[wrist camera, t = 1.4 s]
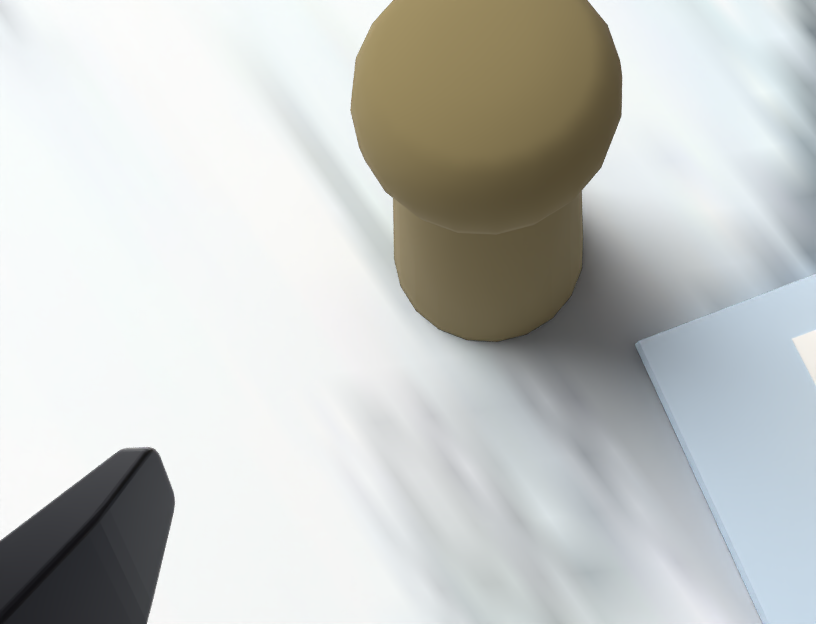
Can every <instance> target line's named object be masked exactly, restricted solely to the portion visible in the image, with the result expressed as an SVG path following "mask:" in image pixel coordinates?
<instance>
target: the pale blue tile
mask: <svg viewBox="0 0 816 624" xmlns="http://www.w3.org/2000/svg"><path fill="white" fill-rule="evenodd" d="M635 346H636V349H637V351H638V353H639V355H640V357H641V359H642V362H643V364H644V366H645V368H646V370H647V373H648V375H649V377H650V379H651V381H652V383H653V386H654V388H655V390H656V392H657V394H658V396H659V399H660V401H661V403H662V405H663V407H664V410H665V412H666V414H667V416H668V418H669V420H670V423H671V425H672V427H673V429H674V431H675V433H676V436H677V438H678V440H679V442H680V444H681V447H682V449H683V451H684V453H685V455H686V457H687V460H688V462H689V464H690V466H691V468H692V470H693V473H694V475H695V477H696V479H697V481H698V484H699V486H700V488H701V490H702V492H703V494H704V497H705V499H706V501H707V503H708V505H709V508H710V510H711V512H712V514H713V516H714V518H715V521H716V523H717V525H718V527H719V529H720V531H721V534H722V536H723V538H724V540H725V542H726V545H727V547H728V549H729V551H730V553H731V555H732V558H733V560H734V562H735V564H736V566H737V568H738V571H739V573H740V575H741V577H742V579H743V582H744V584H745V586H746V588H747V590H748V592H749V595H750V597H751V599H752V601H753V603H754V606H755V608H756V610H757V612H758V614H759V616H760V619H761V621H762V623H763V624H816V274H814V275H811V276H808V277H806V278H803V279H801V280H798V281H795V282H793V283H790V284H787V285H785V286H782V287H779V288H777V289H774V290H771V291H769V292H766V293H764V294H761V295H758V296H756V297H753V298H750V299H748V300H745V301H742V302H740V303H737V304H735V305H732V306H729V307H727V308H724V309H721V310H719V311H716V312H713V313H711V314H708V315H705V316H703V317H700V318H698V319H695V320H692V321H690V322H687V323H684V324H682V325H679V326H676V327H674V328H671V329H669V330H666V331H663V332H661V333H658V334H655V335H653V336H650V337H647V338H645V339H642V340H640V341H638V342H637V343H636V344H635Z"/></svg>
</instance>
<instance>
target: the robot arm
mask: <svg viewBox="0 0 816 624" xmlns="http://www.w3.org/2000/svg"><path fill="white" fill-rule="evenodd" d="M174 506H175V498H174V493H173V489H172V487H171V484H170V481H169V479H168V476H167V473H166V471H165V468H164V466H163V463H162V460H161V458H160V455H159V453H158V452H157V451H156V450H155V449H154V448H150V447H139V448H125V449H122V450H120V451H118V452H117V453H115V454H114V455H113V456H111V457H110V458H109V459H107V460H106V461H105V462H103V463H102V464H101V465H99V466H98V467H97V468H95V469H94V470H93V471H91V472H90V473H89V474H88V475H86V476H85V477H84V478H82V479H81V480H80V481H78V482H77V483H76V484H74V485H73V486H72V487H70V488H69V489H68V490H66V491H65V492H64V493H62V494H61V495H60V496H59V497H57V498H56V499H55V500H53V501H52V502H51V503H49V504H48V505H47V506H45V507H44V508H43V509H41V510H40V511H39V512H37V513H36V514H35V515H33V516H32V517H31V518H29V519H28V520H27V521H26V522H24V523H23V524H22V525H20V526H19V527H18V528H16V529H15V530H14V531H12V532H11V533H10V534H8V535H7V536H6V537H4V538H3V539H2V540H0V624H147V621H148V617H149V613H150V610H151V606H152V602H153V598H154V593H155V589H156V585H157V581H158V577H159V572H160V568H161V564H162V560H163V555H164V551H165V547H166V543H167V538H168V534H169V530H170V526H171V521H172V517H173V513H174Z"/></svg>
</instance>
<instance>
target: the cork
mask: <svg viewBox="0 0 816 624" xmlns="http://www.w3.org/2000/svg"><path fill="white" fill-rule="evenodd" d="M621 110H622V71H621V64H620V59H619V56H618V54H617V51H616V48H615V45H614V42H613V39H612V36H611V34H610V31H609V28H608V25H607V24H606V23H605V21H604V20H603V19H602V18H601V16H600V15H599V14H598V13H597V12H596V10H595V9H594V8H593V7H592V5H591V4H590V3H589V2H588V0H393V1H392V2H391V3H390V5H389V6H388V7H387V8H386V9H385V10H384V11H383V12H382V13H381V14H380V15H379V17H378V18H377V19H376V20H375V21H374V22H373V24H372V25H371V27H370V29H369V32H368V34H367V36H366V38H365V40H364V42H363V44H362V46H361V49H360V51H359V53H358V55H357V57H356V62H355V71H354V80H353V89H352V98H351V115H352V119H353V123H354V127H355V132H356V136H357V140H358V144H359V148H360V150H361V153H362V155H363V157H364V159H365V161H366V163H367V164H368V166H369V167H370V169H371V170H372V172H373V174H374V175H375V177H376V178H377V180H378V181H379V183H380V184H381V186H382V187H383V189H384V190H385V192H386V193H388V194H389V195H390V196H391V197H393V221H394V260H395V265H396V269H397V273H398V277H399V281H400V286H401V288H402V289H403V291H404V292H405V294H406V296H407V297H408V299H409V300H410V302H411V304H412V305H413V307H414V308H415V310H416V311H417V312H418V313H420V314H421V315H422V316H423V317H424V318H426V319H427V320H428V321H429V322H431V323H432V324H433V325H434V326H435V327H437V328H438V329H440V330H442V331H445V332H448V333H450V334H453V335H455V336H458V337H460V338H463V339H466V340H478V341H494V342H498V341H502V340H506V339H510V338H514V337H518V336H522V335H526V334H528V333H529V332H531V331H533V330H534V329H536V328H537V327H539V326H541V325H542V324H544V323H546V322H547V321H549V320H550V319H552V318H553V317H554V316H555V315H556V313H557V312H558V311H559V310H560V309H561V307H562V306H563V305H564V304H565V303H566V301H567V300H568V299H569V298H570V297H571V295H572V293H573V290H574V288H575V285H576V282H577V280H578V277H579V275H580V272H581V269H582V253H583V223H582V189H583V188H584V187H585V186H586V185H587V184H588V182H589V181H590V180H591V179H592V178H593V177H594V175H595V174H596V173H597V172H598V171H599V170H600V168H601V167H602V164H603V162H604V159H605V157H606V154H607V152H608V149H609V146H610V144H611V141H612V139H613V136H614V134H615V131H616V129H617V126H618V123H619V121H620V118H621Z"/></svg>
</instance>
